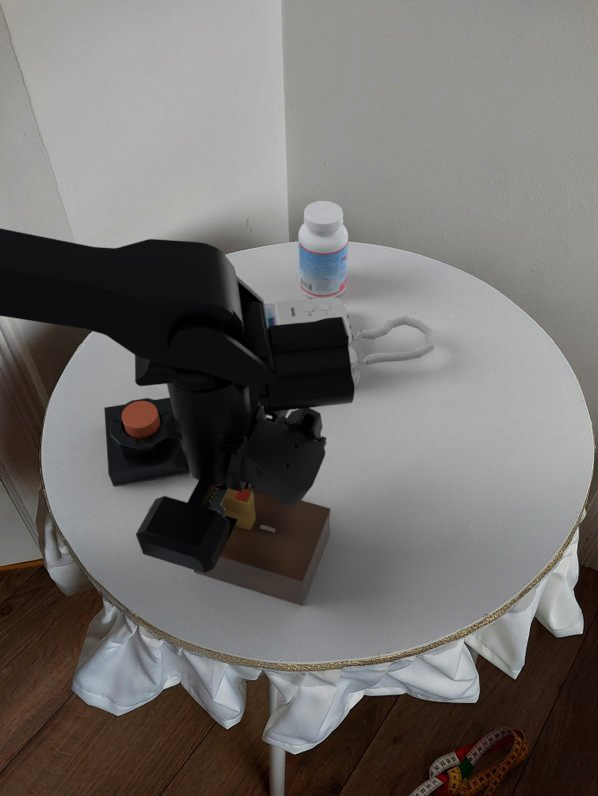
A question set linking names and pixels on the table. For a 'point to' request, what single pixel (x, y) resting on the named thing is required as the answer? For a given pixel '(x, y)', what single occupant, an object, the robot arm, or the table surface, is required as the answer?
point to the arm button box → (140, 447)
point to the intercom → (335, 308)
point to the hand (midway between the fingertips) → (229, 515)
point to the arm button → (141, 419)
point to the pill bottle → (322, 251)
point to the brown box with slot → (276, 549)
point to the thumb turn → (240, 507)
